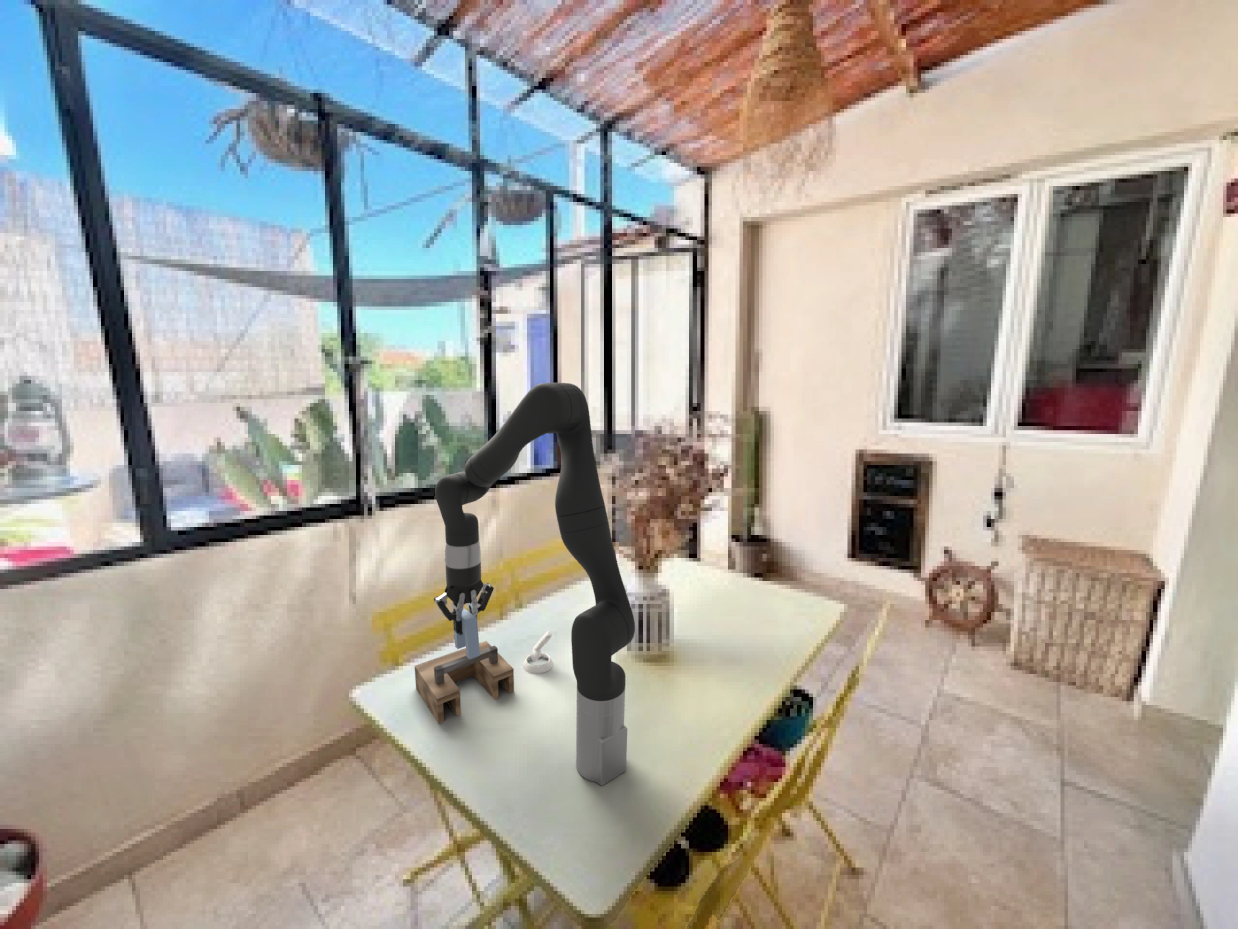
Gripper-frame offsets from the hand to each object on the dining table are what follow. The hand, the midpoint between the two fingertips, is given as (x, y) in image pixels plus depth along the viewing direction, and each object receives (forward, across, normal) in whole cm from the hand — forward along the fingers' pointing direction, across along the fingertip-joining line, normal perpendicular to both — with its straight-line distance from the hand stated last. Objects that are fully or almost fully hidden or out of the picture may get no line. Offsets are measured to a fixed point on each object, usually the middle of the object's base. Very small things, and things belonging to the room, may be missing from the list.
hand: (465, 631), depth 115 cm
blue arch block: (+5, 0, -1) cm, 5 cm away
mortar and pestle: (+17, +19, 0) cm, 25 cm away
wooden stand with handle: (+16, 0, +2) cm, 16 cm away
